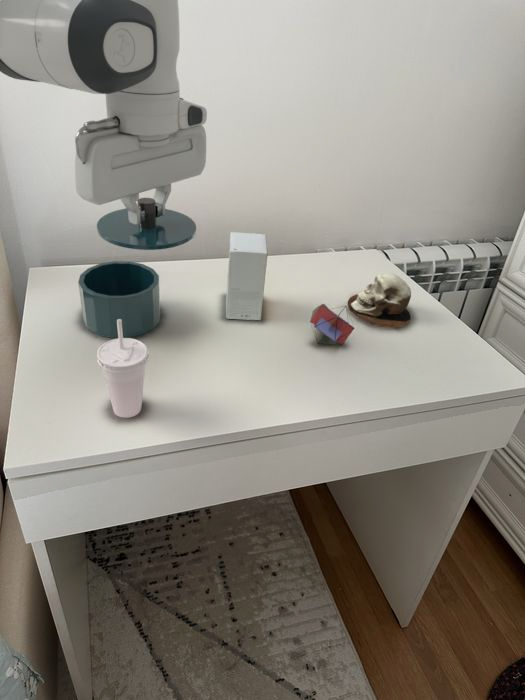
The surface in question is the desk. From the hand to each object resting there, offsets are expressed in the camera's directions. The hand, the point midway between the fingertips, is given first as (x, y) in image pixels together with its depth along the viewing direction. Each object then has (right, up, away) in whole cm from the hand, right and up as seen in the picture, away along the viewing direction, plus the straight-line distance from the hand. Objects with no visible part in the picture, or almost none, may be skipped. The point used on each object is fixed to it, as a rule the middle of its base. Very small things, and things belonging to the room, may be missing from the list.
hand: (147, 218), depth 74 cm
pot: (-8, -13, +17) cm, 23 cm away
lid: (0, -1, +1) cm, 2 cm away
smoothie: (-3, -26, -1) cm, 27 cm away
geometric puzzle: (+27, -17, +17) cm, 36 cm away
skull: (+38, -11, +26) cm, 47 cm away
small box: (+12, -11, +23) cm, 28 cm away
